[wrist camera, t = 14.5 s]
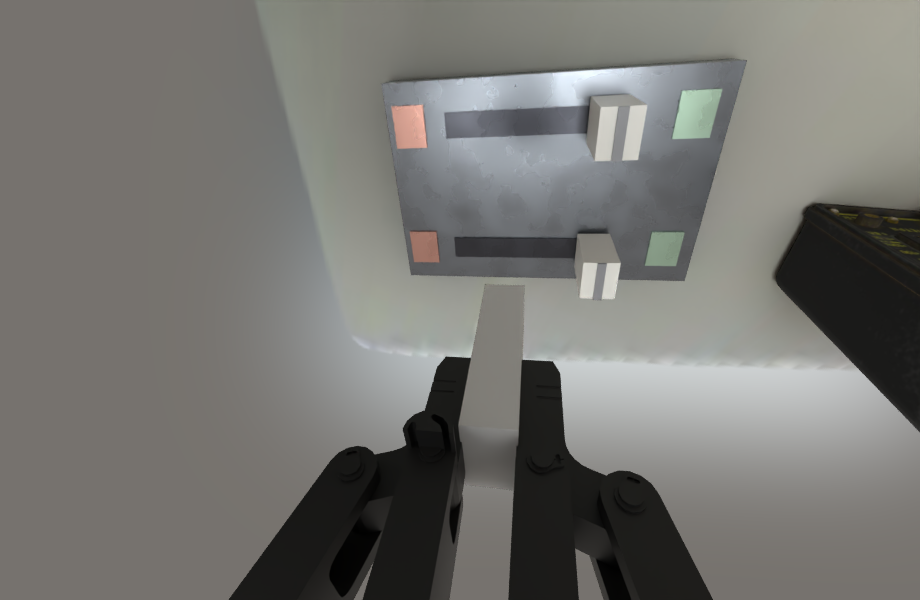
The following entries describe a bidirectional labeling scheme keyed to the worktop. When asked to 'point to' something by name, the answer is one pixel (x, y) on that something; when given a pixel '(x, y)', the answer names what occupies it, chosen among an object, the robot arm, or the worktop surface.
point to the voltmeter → (863, 292)
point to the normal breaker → (615, 127)
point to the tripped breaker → (596, 266)
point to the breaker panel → (555, 168)
